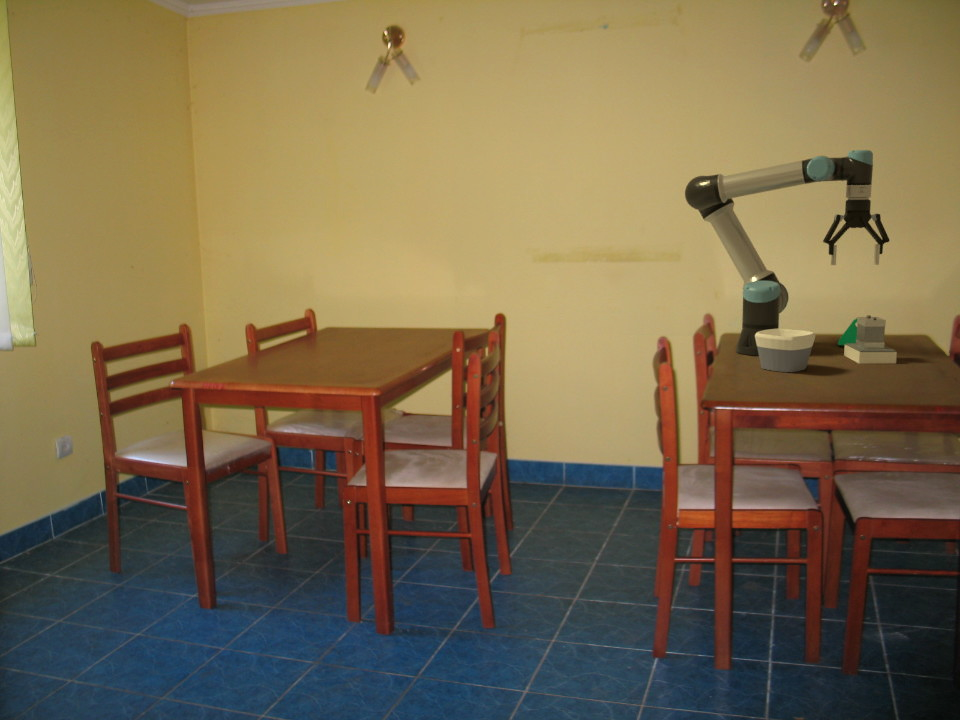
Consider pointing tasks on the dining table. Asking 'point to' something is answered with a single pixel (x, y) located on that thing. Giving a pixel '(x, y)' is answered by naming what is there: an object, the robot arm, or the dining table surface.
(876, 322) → the housing
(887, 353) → the plinth
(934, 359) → the dining table surface
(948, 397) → the dining table surface
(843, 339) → the camera mount
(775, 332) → the bowl
